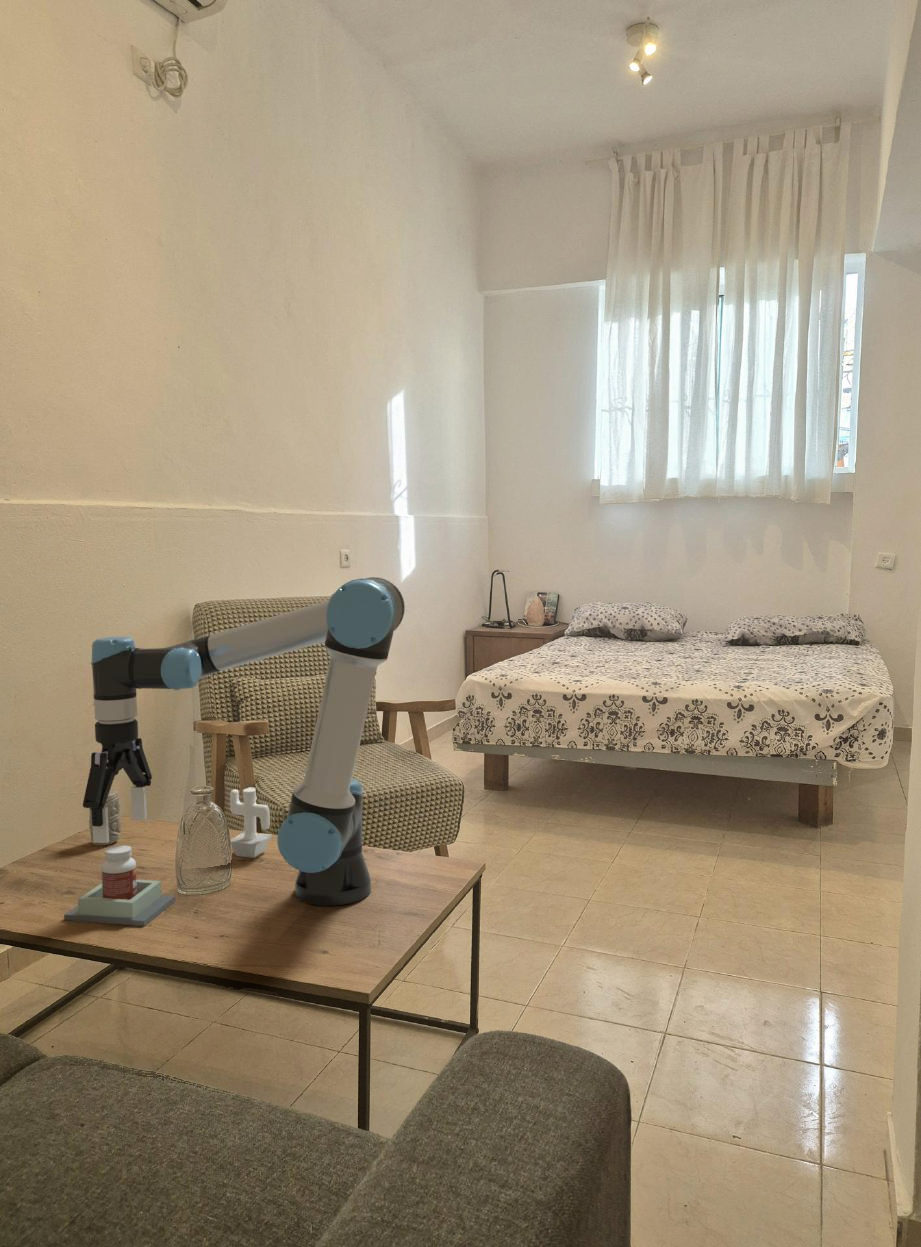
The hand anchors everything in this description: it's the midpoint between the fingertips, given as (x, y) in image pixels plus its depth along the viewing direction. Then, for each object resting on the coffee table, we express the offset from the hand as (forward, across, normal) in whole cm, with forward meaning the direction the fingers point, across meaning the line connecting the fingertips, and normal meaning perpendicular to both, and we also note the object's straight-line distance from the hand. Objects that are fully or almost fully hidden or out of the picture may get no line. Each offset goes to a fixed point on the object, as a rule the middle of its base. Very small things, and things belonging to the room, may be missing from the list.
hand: (121, 830), depth 170 cm
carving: (+15, -35, -25) cm, 45 cm away
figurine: (+16, -34, +11) cm, 39 cm away
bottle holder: (+16, 0, -1) cm, 16 cm away
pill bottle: (+15, 0, -1) cm, 15 cm away
